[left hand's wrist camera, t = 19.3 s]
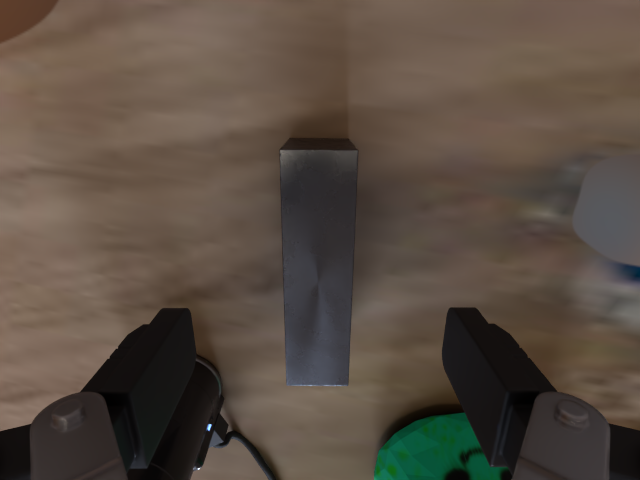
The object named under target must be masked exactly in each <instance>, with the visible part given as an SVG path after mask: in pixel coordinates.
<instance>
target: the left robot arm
mask: <svg viewBox="0 0 640 480" xmlns="http://www.w3.org/2000/svg"><path fill="white" fill-rule="evenodd" d="M442 360H443V366H444V369H445V372H446V374H447V376H448V378H449V380H450V382H451V385H452V387H453V389H454V391H455V393H456V395H457V397H458V399H459V402H460V404H461V406H462V408H463V410H464V412H465V414H466V416H467V419H468V421H469V423H470V425H471V427H472V429H473V431H474V434H475V436H476V438H477V440H478V442H479V444H480V446H481V448H482V451H483V453H484V455H485V457H486V459H487V461H488V463H489V466H490V467H508V469H509V471H510V472H511V474H512V476H513V478H512V480H640V431H639V430H635V429H630V428H626V427H622V426H617V425H613V424H609V423H608V422H607V420H606V419H605V417H604V416H603V415H602V414H601V413H600V412H599V411H598V410H597V409H595V408H594V407H593V406H591V405H590V404H588V403H587V402H585V401H583V400H581V399H579V398H577V397H574V396H572V395H569V394H565V393H561V392H557V391H556V389H555V388H554V387H553V386H552V385H551V383H550V382H549V381H548V380H547V379H546V377H545V376H544V375H543V374H542V372H541V371H540V370H539V369H538V368H537V366H536V365H535V364H534V363H533V362H532V360H531V359H530V358H528V357H527V354H526V353H525V352H524V351H523V349H522V348H519V345H518V343H517V342H516V341H515V340H514V339H513V337H512V336H511V335H510V334H509V333H508V332H506V331H505V330H503V329H502V328H500V327H499V326H497V325H496V324H488V322H487V321H486V320H485V319H484V317H483V316H482V315H481V313H480V312H479V311H478V310H477V309H476V308H449V310H448V312H447V318H446V325H445V333H444V340H443V347H442ZM221 391H222V381H221V377H220V375H219V373H218V371H217V370H216V369H215V367H214V366H213V365H212V364H211V363H209V362H208V361H207V360H205V359H203V358H201V357H199V356H197V355H196V347H195V340H194V333H193V325H192V318H191V313H190V310H189V309H188V308H162V309H161V310H160V311H159V312H158V314H157V315H156V316H155V318H154V319H153V320H152V321H151V323H150V324H143V325H142V326H140V327H139V328H137V329H136V330H134V331H133V332H131V333H130V334H128V335H127V336H126V338H125V339H124V340H123V341H122V342H121V344H120V345H119V346H118V349H116V350H115V351H114V352H113V353H112V354H111V356H110V359H107V360H106V362H105V363H104V364H103V365H102V366H101V368H100V369H99V370H98V371H97V372H96V374H95V375H94V376H93V377H92V378H91V380H90V381H89V382H88V383H87V384H86V386H85V387H84V388H83V389H82V390H81V392H79V393H75V394H71V395H68V396H66V397H63V398H61V399H59V400H57V401H55V402H53V403H52V404H50V405H49V406H47V407H46V408H45V409H43V410H42V411H41V412H40V413H39V414H38V415H37V416H36V417H35V419H34V420H33V422H32V424H29V425H25V426H21V427H17V428H12V429H8V430H4V431H0V480H190V479H191V476H192V473H193V471H195V470H198V469H200V468H201V467H202V466H203V464H204V461H205V458H206V454H207V451H208V448H210V447H212V446H213V447H216V448H223V447H225V446H227V445H228V443H229V441H230V440H231V439H236V440H238V441H240V442H241V443H242V444H244V445H245V447H246V448H247V449H248V450H249V451H250V453H251V454H252V456H253V457H254V458H255V460H256V461H257V463H258V464H259V466H260V467H261V469H262V470H263V471H264V473H265V474H266V476H267V477H268V479H269V480H276V478H275V476H274V475H273V473H272V471H271V470H270V468H269V467H268V465H267V464H266V463H265V461H264V460H263V458H262V457H261V455H260V454H259V452H258V451H257V450H256V448H255V447H254V446H253V445H252V444H251V443H250V442H249V441H248V440H247V439H246V438H244V437H243V436H242V435H241V434H240V433H237V432H234V431H230V432H228V433H227V434H226V432H227V429H228V423H227V422H226V421H225V420H224V418H223V417H222V416H221V414H220V411H221V408H222V405H223V402H224V398H223V396H222V395H221Z"/></svg>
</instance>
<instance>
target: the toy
mask: <svg viewBox="0 0 640 480" xmlns="http://www.w3.org/2000/svg"><path fill="white" fill-rule="evenodd" d="M512 478H513V476H512V474H511V472H510V471H509V469H508V467H490V466H489V463H488V461H487V459H486V457H485V455H484V453H483V451H482V448H481V446H480V444H479V442H478V440H477V438H476V436H475V434H474V431H473V429H472V427H471V425H470V423H469V421H468V419H467V416H466V414H465V413H456V414H446V415H437V416H430V417H427V418H423V419H420V420H417V421H415V422H413V423H411V424H410V425H408V426H406V427H404V428H403V429H401V430H399V431H398V432H396V433H395V434H394V435H393V436H392V437H391V438H390V439H389V440H388V441H387V442H386V444H385V445H384V446H383V447H382V448H381V449H380V450H379V453H378V457H377V462H376V466H375V471H374V480H512Z"/></svg>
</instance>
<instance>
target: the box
mask: <svg viewBox="0 0 640 480" xmlns="http://www.w3.org/2000/svg"><path fill="white" fill-rule="evenodd" d="M357 169H358V150H357V148H356V147H355V146H354V145H353V143H352V142H351V141H350V140H349V139H328V138H289V140H288V141H287V142H286V143H285V144H284V145H283V146H282V148H281V149H280V183H281V216H282V249H283V283H284V316H285V349H286V383H287V385H293V386H348V379H349V356H350V332H351V309H352V286H353V262H354V239H355V216H356V192H357Z"/></svg>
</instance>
